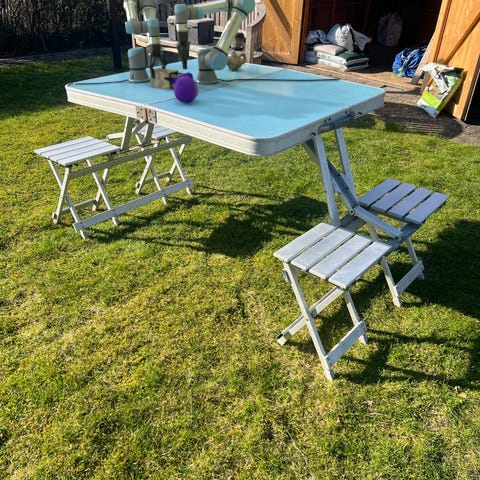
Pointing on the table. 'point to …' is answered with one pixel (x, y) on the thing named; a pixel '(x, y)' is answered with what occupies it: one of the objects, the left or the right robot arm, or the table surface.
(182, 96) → the toy
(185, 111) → the table surface
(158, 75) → the tan cardboard box
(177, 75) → the drawer
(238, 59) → the teapot
